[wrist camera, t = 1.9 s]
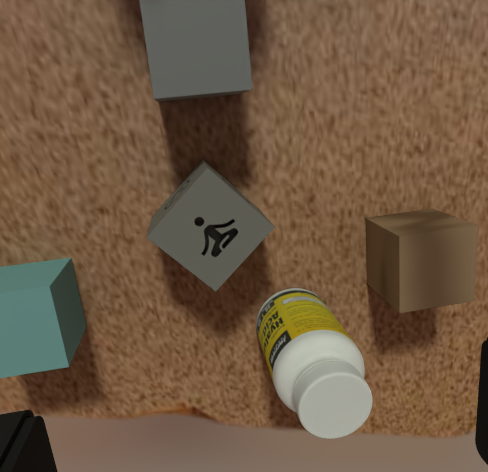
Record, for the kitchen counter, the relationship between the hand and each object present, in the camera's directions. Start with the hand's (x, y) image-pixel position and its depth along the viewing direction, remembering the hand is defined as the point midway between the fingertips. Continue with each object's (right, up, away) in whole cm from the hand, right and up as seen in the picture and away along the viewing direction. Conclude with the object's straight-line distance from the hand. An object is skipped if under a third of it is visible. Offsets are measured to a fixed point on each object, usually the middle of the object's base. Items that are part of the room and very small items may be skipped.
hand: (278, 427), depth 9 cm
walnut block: (+10, +3, +22) cm, 25 cm away
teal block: (-14, 0, +19) cm, 24 cm away
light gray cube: (-4, +15, +17) cm, 23 cm away
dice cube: (-3, +6, +20) cm, 21 cm away
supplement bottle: (+3, -2, +23) cm, 23 cm away
